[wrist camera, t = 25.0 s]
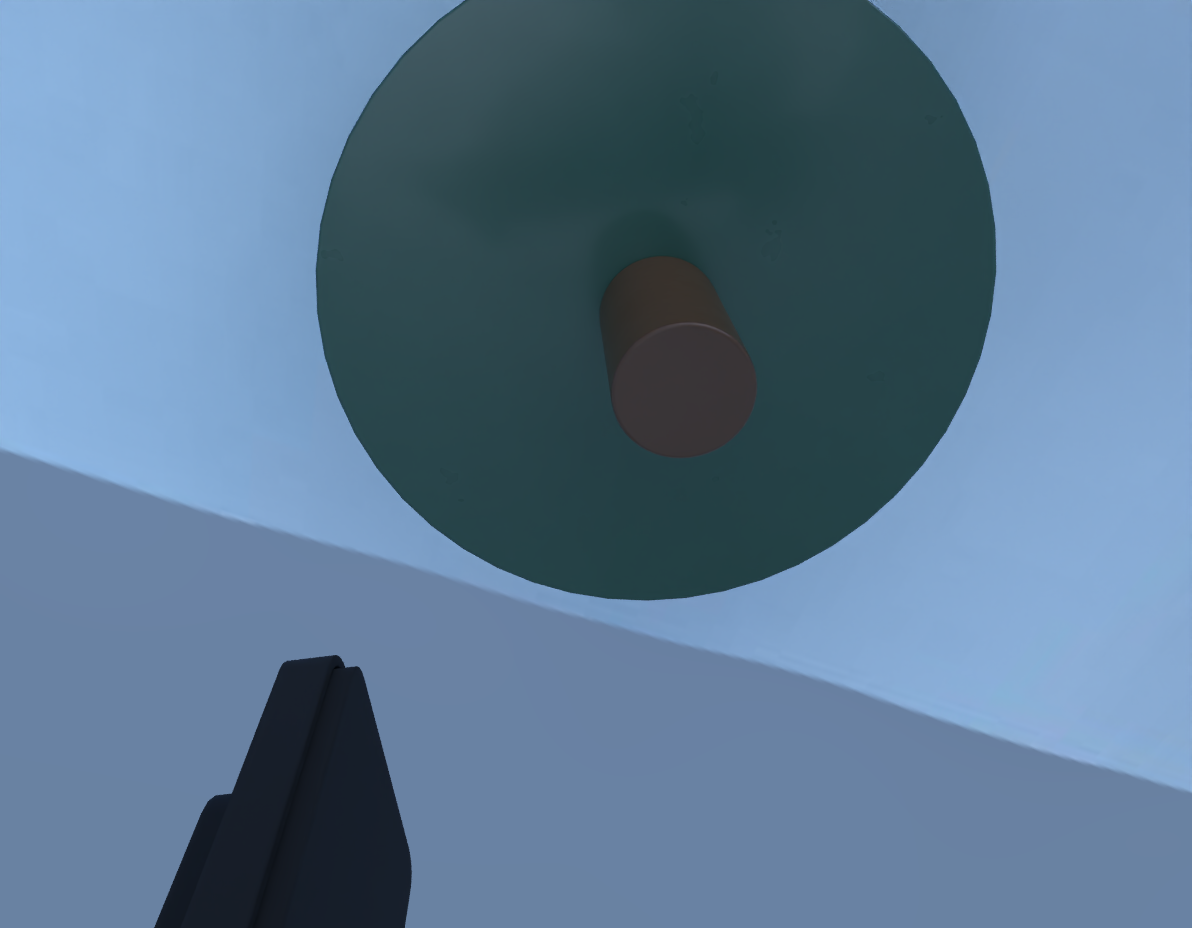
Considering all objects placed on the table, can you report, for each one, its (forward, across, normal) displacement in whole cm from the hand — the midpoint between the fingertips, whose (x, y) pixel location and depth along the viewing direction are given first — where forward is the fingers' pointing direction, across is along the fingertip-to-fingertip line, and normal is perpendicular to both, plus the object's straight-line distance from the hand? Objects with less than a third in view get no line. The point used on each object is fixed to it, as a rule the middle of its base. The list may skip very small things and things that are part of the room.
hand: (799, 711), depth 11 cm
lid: (+15, 0, 0) cm, 15 cm away
